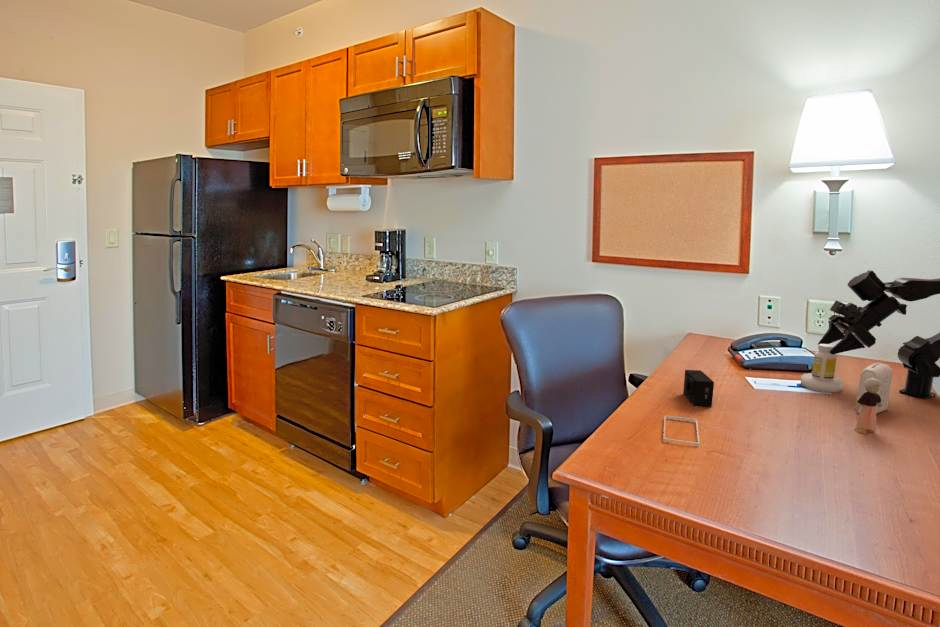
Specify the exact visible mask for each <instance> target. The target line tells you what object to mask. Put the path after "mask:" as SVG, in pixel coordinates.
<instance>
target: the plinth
mask: <svg viewBox="0 0 940 627" xmlns="http://www.w3.org/2000/svg"><path fill="white" fill-rule="evenodd" d="M800 385H801V386H802V387H803V386H804V387H803V388H805V387H806V388H805V389H808V388H810V389H809V390H811V389H813V391H816V390H817V392H821V391H823V393H839V392H842V386H843V379H841V378H839V377H837V376H834V379H833V380H832V381H823V380H818V379H815V378H813V377H812V372H811V373H807V372H806V373H803V374H801V378H800Z"/></svg>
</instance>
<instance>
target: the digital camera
mask: <svg viewBox="0 0 940 627" xmlns="http://www.w3.org/2000/svg"><path fill="white" fill-rule="evenodd" d="M683 378H684V382H683V392H682V394H683V396H684V397H685V398H688V399H689V400H690V401H689V400H688V399H687V400H688V401H689V402H690V403H691V404H692V405H693V406H694V407H695V406H702V407H701V408H712V406H713V396H714V386H715V381H713V380H712V379H711V378H710V377H709V376H708V375H707V374H706V373H704V371H702V370H701V369H699V370H697V369H695V370H694V369H685V370H684V377H683Z"/></svg>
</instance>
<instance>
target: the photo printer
mask: <svg viewBox="0 0 940 627" xmlns="http://www.w3.org/2000/svg"><path fill="white" fill-rule="evenodd" d="M893 374H894V373H893V369H892V368H891V366H890V365H888V364H886V363H882V362H875V363H872V364H870V365H868V366H866V367H865V368H864V369H863V370H861V373H860V377H859V382H858V388H857V389H858V391H857V395H856V403H857V401H858V400H859V399H860V397H861V396H862V395H863V394H864V393H865V392H867V391H866V388H865V387H864V381H865V380H866V379H869V378H875V379H878V380H879V381H880V382H881V386H880V387H879V391H878V392H877V394H878V395H879V396H880V398H881V404H882V407H877V404H876V414H878V413H881V412H884V411H886V410H887V408H888V405H889V404H888V403H889V398H890V392H891V387H892V386H891V385H892V380H893ZM856 403H855V404H856ZM861 409H862V405H861V407H860V408H859V410H858V411H856V412H857V413H858V414H859V413H860V411H861Z"/></svg>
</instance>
